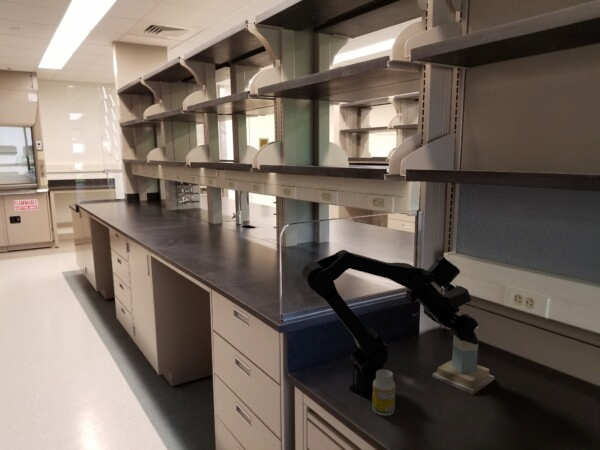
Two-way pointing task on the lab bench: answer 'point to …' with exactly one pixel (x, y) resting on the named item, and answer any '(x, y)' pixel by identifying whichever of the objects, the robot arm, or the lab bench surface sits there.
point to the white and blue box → (465, 354)
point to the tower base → (472, 391)
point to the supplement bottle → (383, 393)
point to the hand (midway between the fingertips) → (467, 336)
